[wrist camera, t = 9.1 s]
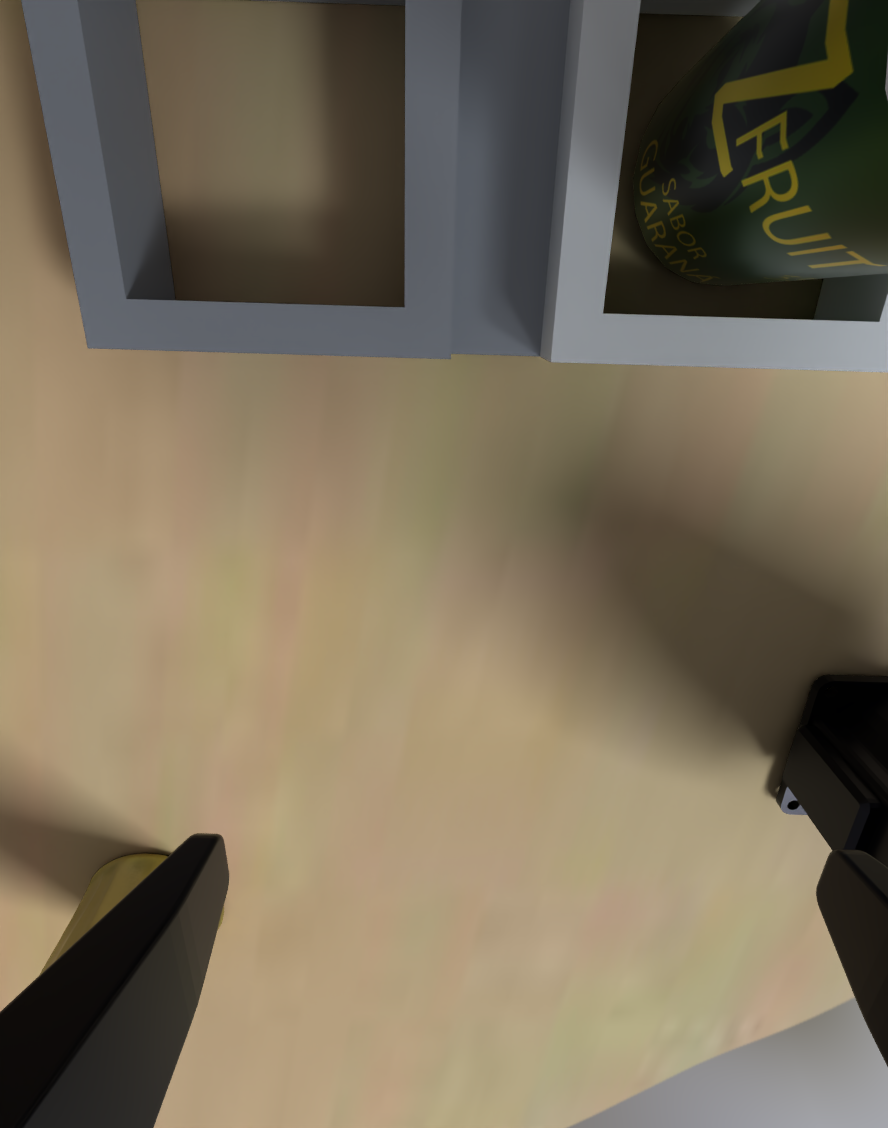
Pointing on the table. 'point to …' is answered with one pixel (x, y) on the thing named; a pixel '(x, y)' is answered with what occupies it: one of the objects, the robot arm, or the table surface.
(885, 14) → the beer can
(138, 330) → the grey double square frame
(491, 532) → the table surface
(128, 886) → the vase
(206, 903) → the robot arm
